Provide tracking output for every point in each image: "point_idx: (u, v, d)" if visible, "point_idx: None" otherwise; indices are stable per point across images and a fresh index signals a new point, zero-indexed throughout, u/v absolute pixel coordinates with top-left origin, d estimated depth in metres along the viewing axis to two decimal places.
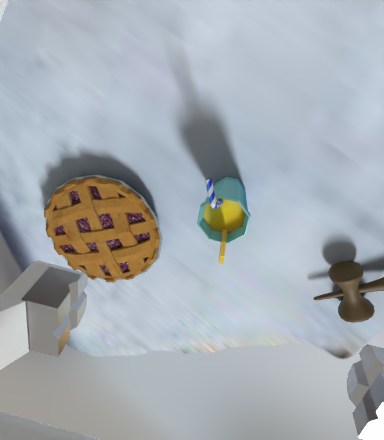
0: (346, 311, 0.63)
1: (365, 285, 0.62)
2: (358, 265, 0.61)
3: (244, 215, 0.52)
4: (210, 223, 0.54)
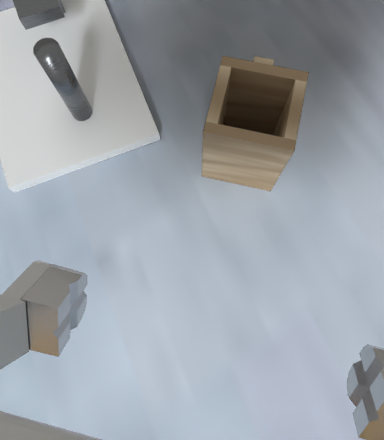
0: None
1: None
2: None
3: None
4: None
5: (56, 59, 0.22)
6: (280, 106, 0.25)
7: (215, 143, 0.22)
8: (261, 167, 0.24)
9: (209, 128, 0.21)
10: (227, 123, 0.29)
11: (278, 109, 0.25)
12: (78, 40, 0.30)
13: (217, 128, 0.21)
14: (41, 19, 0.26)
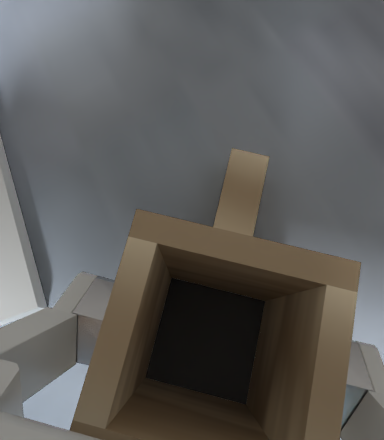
0: None
1: None
2: None
3: None
4: None
5: None
6: (281, 292, 0.11)
7: None
8: None
9: None
10: (178, 278, 0.15)
11: (278, 292, 0.12)
12: None
13: None
14: None
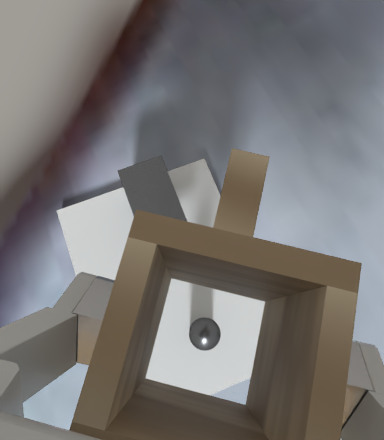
0: None
1: None
2: None
3: None
4: None
5: (215, 344, 0.18)
6: (281, 292, 0.11)
7: None
8: None
9: None
10: (178, 279, 0.15)
11: (278, 293, 0.11)
12: None
13: None
14: None
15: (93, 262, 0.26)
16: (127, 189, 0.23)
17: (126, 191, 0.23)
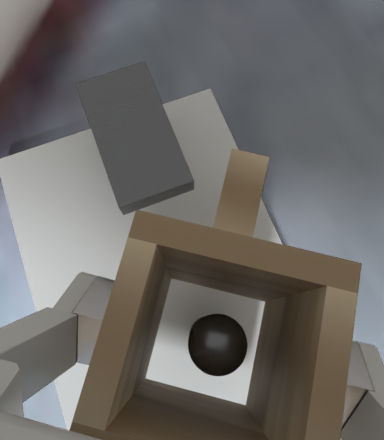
0: None
1: None
2: None
3: None
4: None
5: None
6: (282, 293, 0.11)
7: None
8: None
9: None
10: (178, 279, 0.15)
11: (278, 293, 0.11)
12: (189, 194, 0.18)
13: None
14: (155, 200, 0.14)
15: (46, 234, 0.18)
16: (90, 111, 0.14)
17: (88, 114, 0.14)
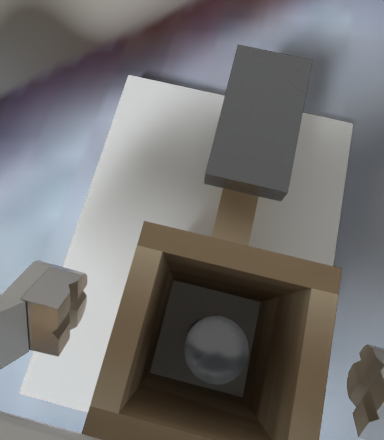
0: None
1: None
2: None
3: None
4: None
5: None
6: (274, 294, 0.12)
7: None
8: None
9: (97, 426, 0.08)
10: (179, 280, 0.16)
11: (271, 294, 0.13)
12: (270, 205, 0.17)
13: (117, 429, 0.08)
14: (240, 188, 0.13)
15: (129, 160, 0.18)
16: (235, 75, 0.14)
17: (232, 77, 0.14)
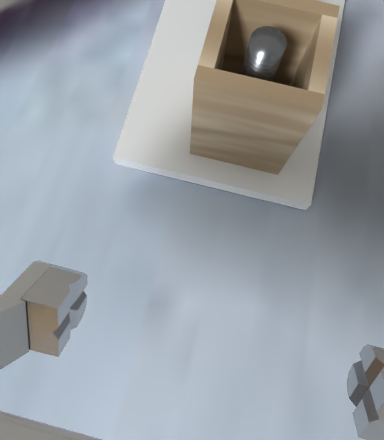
0: None
1: None
2: None
3: None
4: None
5: (271, 60, 0.16)
6: (295, 60, 0.19)
7: (210, 99, 0.16)
8: (270, 138, 0.18)
9: (203, 74, 0.15)
10: None
11: (292, 65, 0.19)
12: None
13: (214, 74, 0.15)
14: None
15: (182, 14, 0.24)
16: None
17: None
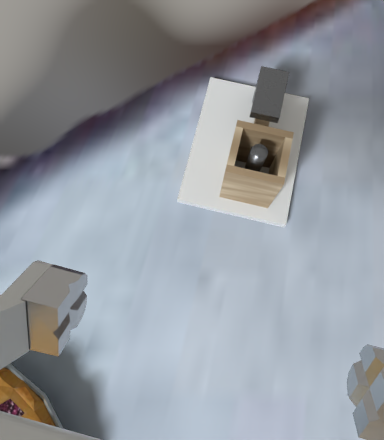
0: None
1: None
2: None
3: None
4: None
5: (260, 160, 0.33)
6: (274, 151, 0.37)
7: (232, 178, 0.34)
8: (262, 193, 0.35)
9: (229, 169, 0.33)
10: (237, 159, 0.40)
11: (273, 152, 0.37)
12: None
13: (234, 169, 0.33)
14: (263, 117, 0.38)
15: (213, 113, 0.42)
16: (260, 77, 0.38)
17: (259, 78, 0.38)
